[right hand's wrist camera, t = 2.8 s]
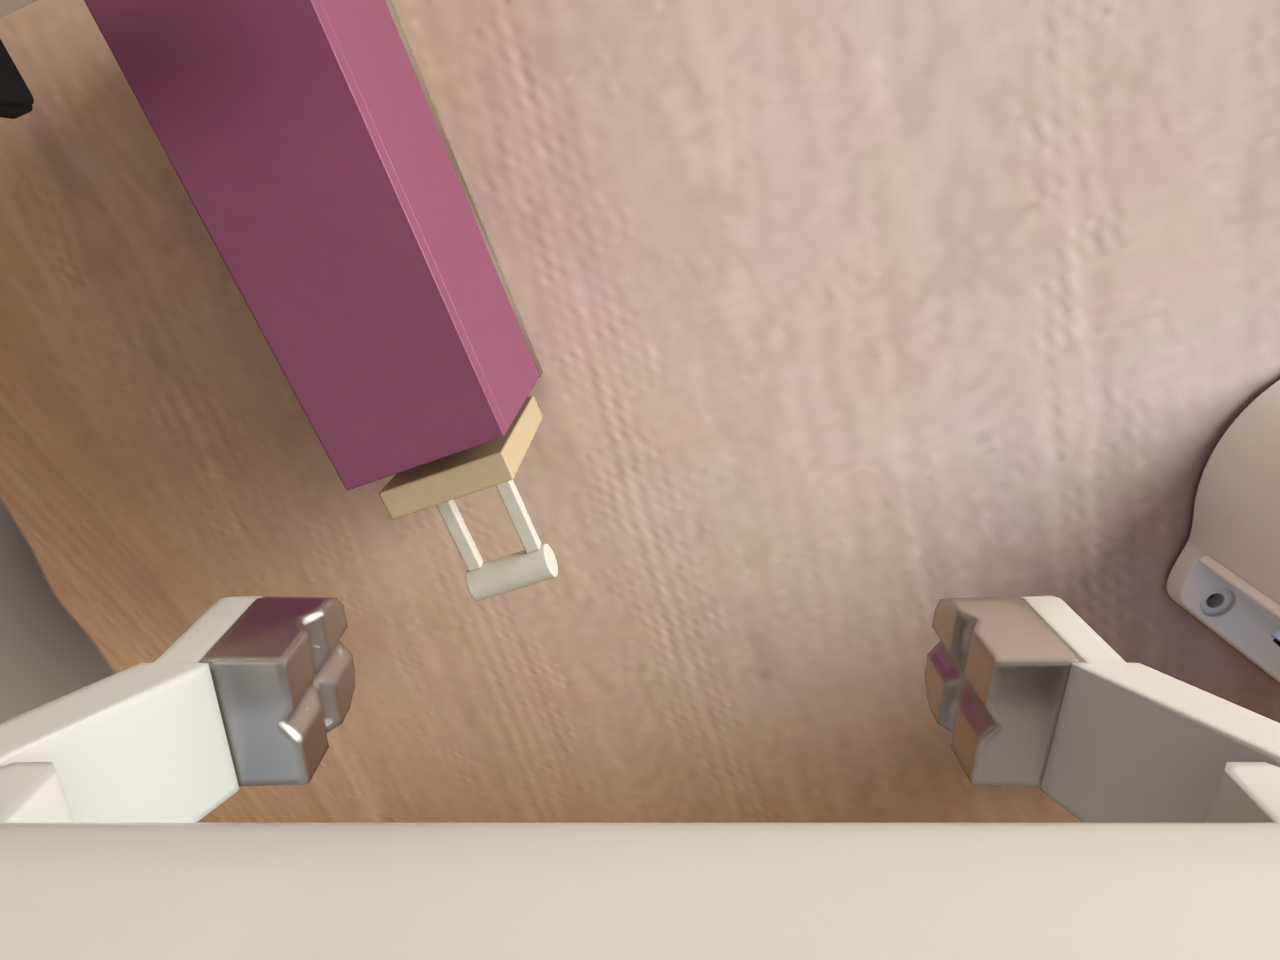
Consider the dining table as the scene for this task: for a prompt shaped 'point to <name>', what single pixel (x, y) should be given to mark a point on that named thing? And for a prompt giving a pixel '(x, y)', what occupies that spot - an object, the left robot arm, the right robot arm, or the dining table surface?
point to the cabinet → (335, 217)
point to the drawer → (471, 475)
